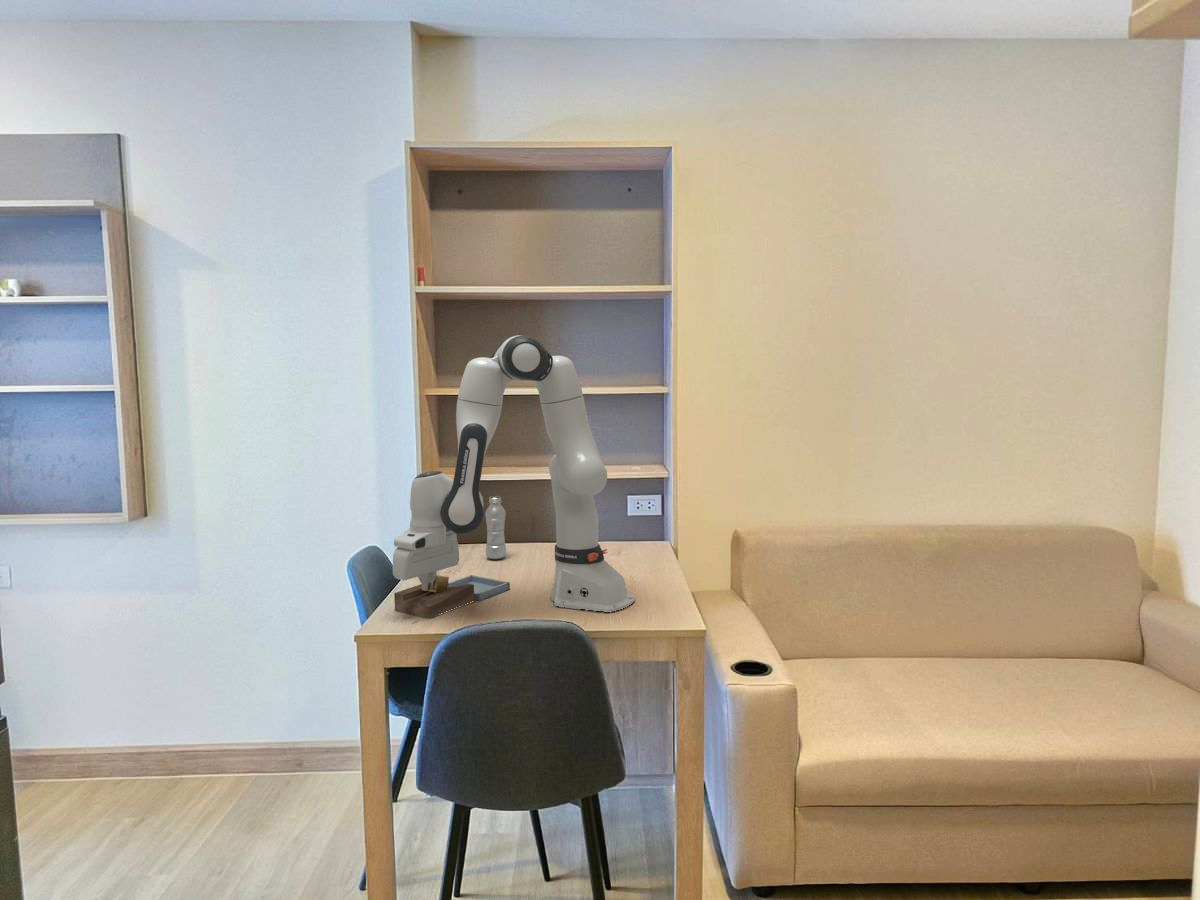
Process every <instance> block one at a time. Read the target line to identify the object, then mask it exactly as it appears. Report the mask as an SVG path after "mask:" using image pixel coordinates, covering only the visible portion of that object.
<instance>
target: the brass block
mask: <svg viewBox="0 0 1200 900" xmlns="http://www.w3.org/2000/svg"><path fill="white" fill-rule="evenodd" d="M426 579H427V578H426ZM449 579H450V577H449V576H445V575H440V574H437V575H436V578H435V580H434V582H433V589H430V590H427V591H431V592H441V591H444V590H447V586H448V583H449Z"/></svg>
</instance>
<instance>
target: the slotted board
mask: <svg viewBox="0 0 1200 900" xmlns="http://www.w3.org/2000/svg"><path fill="white" fill-rule="evenodd" d="M421 587H422V583H420V584H418V585H414V586H411V587H408V588H405V589H402V590H399V591H396V592H394V597H393V598H394V611H396V612H400V613H403V614H408V615H411V614H412V615H413V616H415V615H416V617H419V616H420V618H424V617H425V618H424V619H428V618H431V619H432V617H433V618H435V617H434V616H436V617H438V616H440V615H439V614H441V613H443V614H445V613H444V612H446V611H449V610H451V609H454V608H456V607H459V606H462V605H464V606H466V605H465V604H467V603H469V604H471V603H470V602H472V601H474V585H473V584H468V583H464V584H461V585H458V586H451V585H449V584H448V586H447V590H444V591H441V592H431V591H424V590H422V588H421ZM474 602H475V601H474ZM472 603H473V602H472ZM467 605H468V604H467ZM462 607H463V606H462ZM459 608H460V607H459ZM456 609H457V608H456ZM454 610H455V609H454ZM451 611H452V610H451ZM449 612H450V611H449ZM446 613H447V612H446ZM437 615H438V616H437ZM441 615H442V614H441Z"/></svg>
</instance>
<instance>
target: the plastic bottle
mask: <svg viewBox="0 0 1200 900" xmlns="http://www.w3.org/2000/svg"><path fill="white" fill-rule="evenodd" d="M501 503H502V496H499V495H492V496H489V499H488V504H489V505H488V507H487V509H486V510H485V515H484V516H485V517H484V518H485V523H486V530H487V531H486V532H487V533H486V534H487V536H486V547H485V555H486V557H487V559H489V560H500V559H504V558H505V557H506V556H507V555H506V553H507V546H506V540H505V539H506V538H505V523H506V515H507V514H506V510H505V508H504V506H503V505H502V504H501Z"/></svg>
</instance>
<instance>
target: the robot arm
mask: <svg viewBox="0 0 1200 900" xmlns="http://www.w3.org/2000/svg"><path fill="white" fill-rule="evenodd" d="M462 374H463V375H462V379H461V382H460V384H459V385H460V386H459V390H458V394H457V401H456V409H455V410H456V413H455V414H456V415H455V423H456V425H455V426H456V435H457V436H456V437H457V457H456V463H455V469H454V475H453V478H452V477H450V476H448V475H447V474H446V473H444V472H443V471H440V470H434V471H433V470H431V471H426V472H423V473H419V474H417V476H416V477H414V478H413V480H412V483H411V488H410V497H409V499H410V501H409V507H410V511H411V517H410V521H409V528H408V529H407V530H405V531H404V532H403V533H401V534H400V535H398V536H397V537H394V540H393V545H394V547H396V548H395V549H394V552H393V555H392V575H393V577H394V578H395V579H397V580H401V581H407V580H411V579H415V578H418V581H420V584H422V587H421V588H422V590H424V591H427V590H430V589H433V582H434V580H435V578H436V575H438V574H437V573H438V571H441V570H444V569H448V568H453V567H455V566H457V565H458V564H459V561H460V549H459V543H458V535H457V534H468V533H471V532H473V531H475V530H476V529H477V528H478V527H479V526H480V525H481V523H482V521H483V518H484V505H485V504H484V496H483V495H482V493H481V491H480V485H481V478H482V471H483V468H484V467H483V465H484V460H485V456H486V453H487V450H488V447H489V445H490V443H491V441H492V438H493V436H494V435H495V432H496V429H497V428H498V424H499V421H500V419H501V418H500V417H501V413H502V408H503V402H504V401H503V399H504V394H505V390H506V388H507V386H508V385H509V383H510V382H512V381H532V383H534V385H535V386H536V389H537V391H538V395H539V402H540V407H541V411H542V415H543V420H544V425H545V430H546V434H547V436H548V438H549V440H550V443H551V445H552V449H553V451H554V453H555V454H554V455H553V456H552V457H551V459H550V461H549V464H548V471H549V476H550V481H551V492H552V498H553V504H554V509H555V510H554V512H555V532H556V533H555V539H556V542H555V545H554V560H555V574H554V581H553V585H552V586H553V587H552V591H551V594H550V600H551V601H552V602H554V604H553V605H554V607H557V606H559V607H558V608H564V607H565V608H566V609H572V610H574V609H575V610H580V609H585V610H584V611H588V610H594V611H593V612H596V611H604V612H610V611H615V612H617V611H616V610H619V611H621V610H620V609H622V610H624V609H626V608H628V607H630V606H631V605H630V604H632V603H633V602H634V601H635V602H636V596H635V595H633V594H630V593H628V592H627V585H626V581H625V578H624V576H623V575H621V573H619V572H618V571H617V570H616V569H615V568H613V566H612V565H610V564H609V563H608V561H606V560H605V556H604V555H605V554H607V553H608V552H607V551H608V548H605V549H602V548H601V545H600V544H599V513H598V511H597V508H596V504H595V498H594V496H596V495H597V494H599V493H601V492H602V491H603V490H604V488H605V486H606V484H607V482H608V470H607V468H606V466H605V464H604V462H603V461H602V458H601V455H600V452H599V448H598V445H597V443H596V440H595V438H594V435H593V432H592V429H591V426H590V423H589V418H588V413H587V407H586V402H585V398H584V394H583V390H582V389H583V388H582V384H581V382H580V378H579V375H578V373H577V369H576V368H575V364H574V363H573V361H572V359H570V358H569V357H566V356H564V355H551V354H550V352H549V351H548V350H547V349H546V348H545V347H544V346H543V344H542V343H541V342H540V341H539V340H538V339H536V338H534V337H533V336H529V335H524V334H523V335H513V336H511V337H508V338H507V339H506V340H504V342H502V343H501V344H500V345H499V346H498V347H497V349H496V350H495V351H494V352H493V354H492V355H491V356H490V357H484V356H483V357H482V356H481V357H475V358H473V359H470V360H469V361H468V362H467V364H466V365H465V369H464V372H463V373H462ZM426 578H427V579H426ZM635 602H634V603H635ZM634 603H633V604H634ZM633 604H632V605H633ZM629 605H630V606H629ZM627 606H628V607H627ZM625 607H626V608H625ZM623 608H624V609H623ZM604 612H603V613H604ZM610 613H611V612H610Z"/></svg>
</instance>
